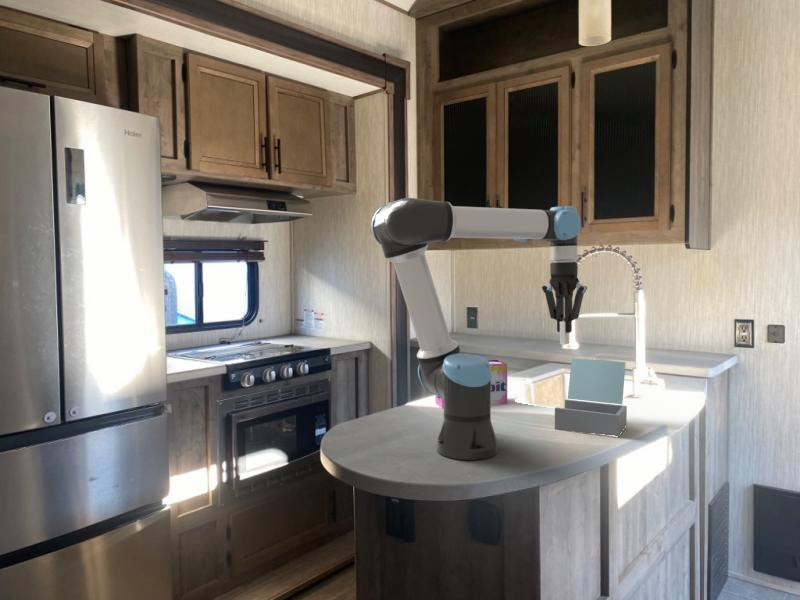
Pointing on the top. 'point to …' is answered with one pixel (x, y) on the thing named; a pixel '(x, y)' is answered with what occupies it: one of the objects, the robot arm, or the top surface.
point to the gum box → (493, 383)
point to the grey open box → (591, 417)
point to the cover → (596, 380)
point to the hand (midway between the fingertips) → (564, 343)
